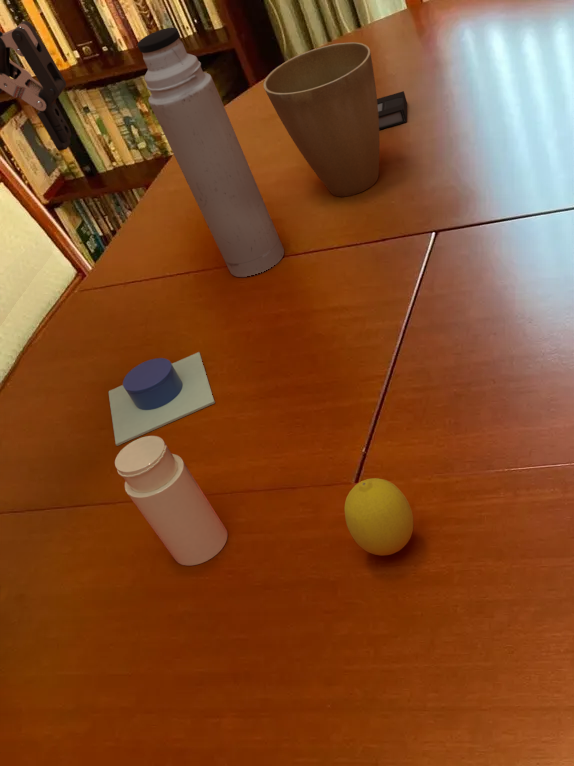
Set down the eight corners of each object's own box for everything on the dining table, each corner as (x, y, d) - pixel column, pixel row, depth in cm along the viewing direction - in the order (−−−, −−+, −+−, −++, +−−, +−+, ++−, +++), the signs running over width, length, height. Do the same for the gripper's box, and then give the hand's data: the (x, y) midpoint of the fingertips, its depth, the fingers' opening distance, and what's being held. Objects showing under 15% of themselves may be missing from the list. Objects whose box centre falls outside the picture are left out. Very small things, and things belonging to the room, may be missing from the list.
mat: (116, 446, 99) (115, 444, 99) (109, 393, 107) (108, 391, 107) (215, 403, 100) (214, 401, 99) (200, 353, 108) (199, 351, 108)
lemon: (354, 547, 78) (322, 482, 73) (407, 517, 79) (380, 450, 73) (378, 584, 75) (346, 518, 69) (434, 552, 75) (408, 484, 70)
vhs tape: (407, 122, 138) (403, 109, 137) (321, 147, 141) (316, 134, 139) (407, 104, 143) (403, 91, 142) (324, 128, 146) (319, 115, 144)
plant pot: (291, 215, 127) (244, 99, 115) (331, 164, 135) (291, 50, 123) (383, 206, 121) (343, 83, 109) (418, 153, 129) (385, 33, 118)
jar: (169, 571, 83) (103, 482, 74) (177, 530, 86) (115, 441, 78) (225, 557, 82) (165, 466, 74) (230, 517, 86) (173, 425, 77)
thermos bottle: (220, 268, 122) (112, 47, 101) (266, 239, 124) (170, 17, 103) (247, 283, 117) (139, 53, 96) (295, 253, 119) (200, 22, 98)
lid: (157, 374, 106) (145, 355, 104) (193, 379, 104) (181, 359, 102) (125, 407, 104) (112, 387, 101) (161, 412, 101) (148, 393, 99)
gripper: (1, -65, 78) (100, 124, 90) (-135, -17, 80) (-21, 160, 92) (-29, -41, 73) (80, 156, 85) (-173, 9, 76) (-47, 193, 87)
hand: (27, 158), depth 89 cm, fingers open, 8 cm apart
